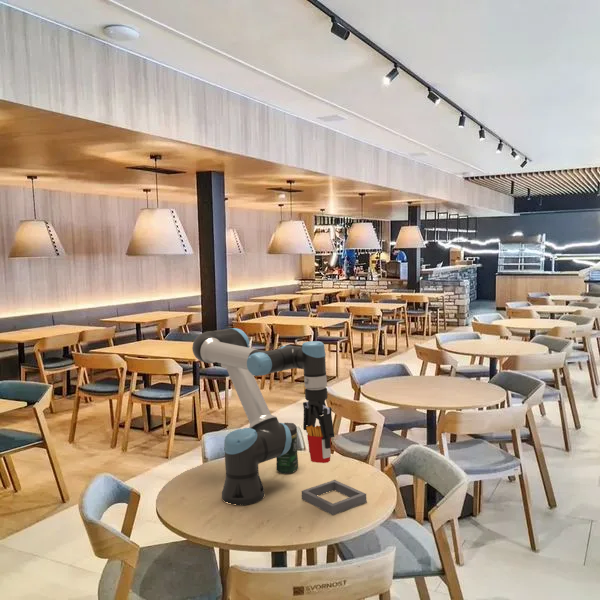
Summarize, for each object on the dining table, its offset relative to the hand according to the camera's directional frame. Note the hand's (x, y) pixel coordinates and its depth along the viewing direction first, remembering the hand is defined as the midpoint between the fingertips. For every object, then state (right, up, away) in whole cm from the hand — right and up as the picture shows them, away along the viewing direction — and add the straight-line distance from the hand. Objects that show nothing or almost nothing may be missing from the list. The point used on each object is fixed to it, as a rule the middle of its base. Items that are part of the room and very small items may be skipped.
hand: (319, 454), depth 196 cm
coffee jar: (-11, -16, +36) cm, 41 cm away
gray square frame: (+5, -17, +5) cm, 18 cm away
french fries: (0, -2, 0) cm, 2 cm away
